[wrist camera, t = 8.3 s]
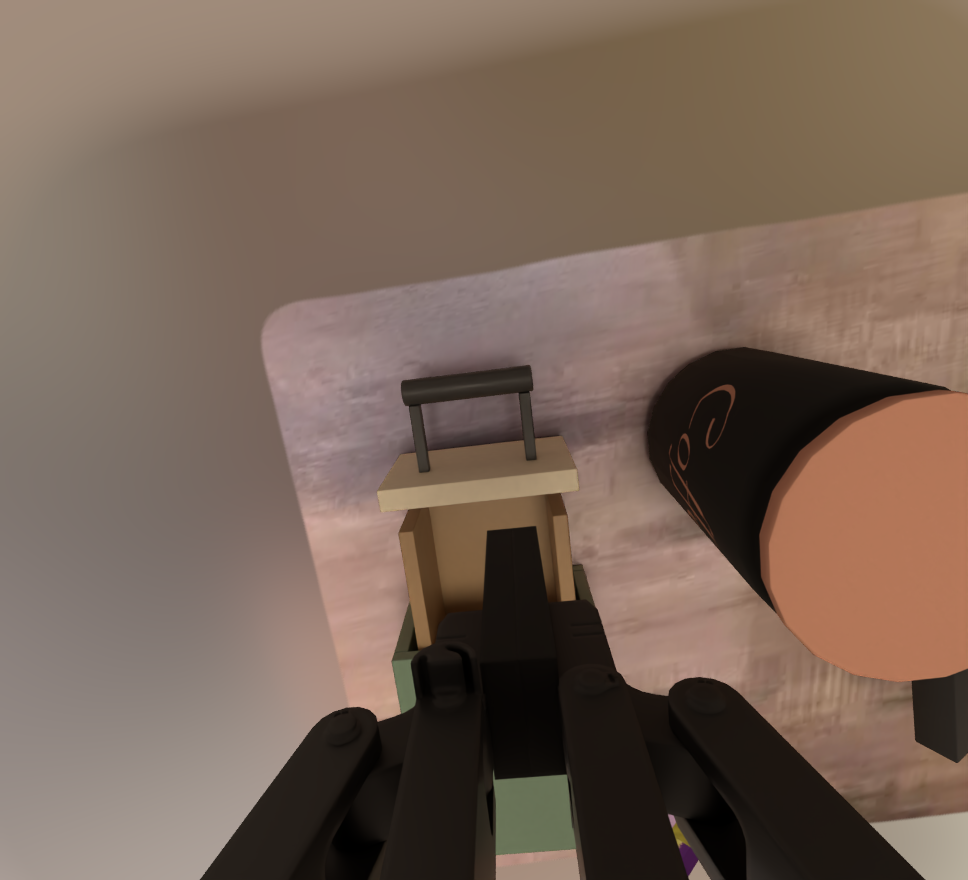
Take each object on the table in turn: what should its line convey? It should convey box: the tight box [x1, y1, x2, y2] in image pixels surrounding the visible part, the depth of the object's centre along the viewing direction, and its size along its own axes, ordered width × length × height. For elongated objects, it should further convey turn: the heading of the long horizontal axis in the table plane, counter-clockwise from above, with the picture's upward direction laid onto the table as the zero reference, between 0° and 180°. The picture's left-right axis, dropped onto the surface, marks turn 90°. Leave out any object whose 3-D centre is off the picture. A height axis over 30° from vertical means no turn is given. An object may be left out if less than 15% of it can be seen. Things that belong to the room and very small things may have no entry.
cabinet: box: [392, 565, 595, 855], centre depth 37 cm, size 14×12×9 cm
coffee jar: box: [648, 347, 968, 682], centre depth 28 cm, size 11×11×18 cm
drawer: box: [377, 365, 579, 651], centre depth 34 cm, size 18×10×7 cm, turn 7°
